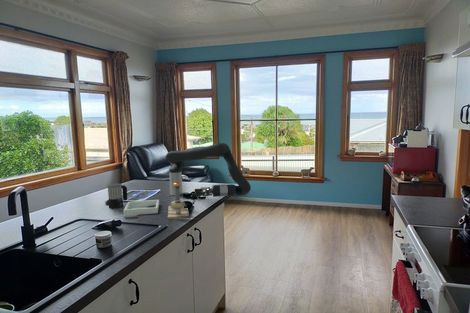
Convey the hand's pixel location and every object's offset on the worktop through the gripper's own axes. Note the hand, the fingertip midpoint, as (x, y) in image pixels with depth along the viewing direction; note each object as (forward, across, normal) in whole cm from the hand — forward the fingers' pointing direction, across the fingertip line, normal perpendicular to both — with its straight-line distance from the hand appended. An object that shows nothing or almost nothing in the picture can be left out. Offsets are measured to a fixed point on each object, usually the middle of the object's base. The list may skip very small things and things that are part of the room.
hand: (194, 192), depth 200 cm
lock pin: (+11, 0, +9) cm, 14 cm away
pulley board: (+11, +7, +10) cm, 17 cm away
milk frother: (+54, -20, +10) cm, 58 cm away
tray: (+33, 0, +10) cm, 34 cm away
